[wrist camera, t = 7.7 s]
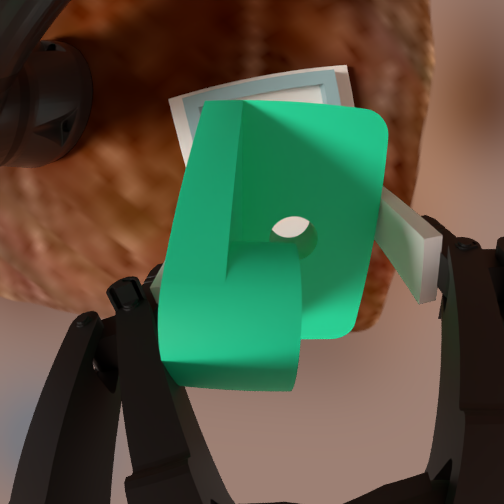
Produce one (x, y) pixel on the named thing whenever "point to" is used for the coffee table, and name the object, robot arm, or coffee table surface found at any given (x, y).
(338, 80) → the dock
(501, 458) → the robot arm
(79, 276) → the coffee table surface
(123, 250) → the coffee table surface
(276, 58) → the coffee table surface
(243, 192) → the camera mount
